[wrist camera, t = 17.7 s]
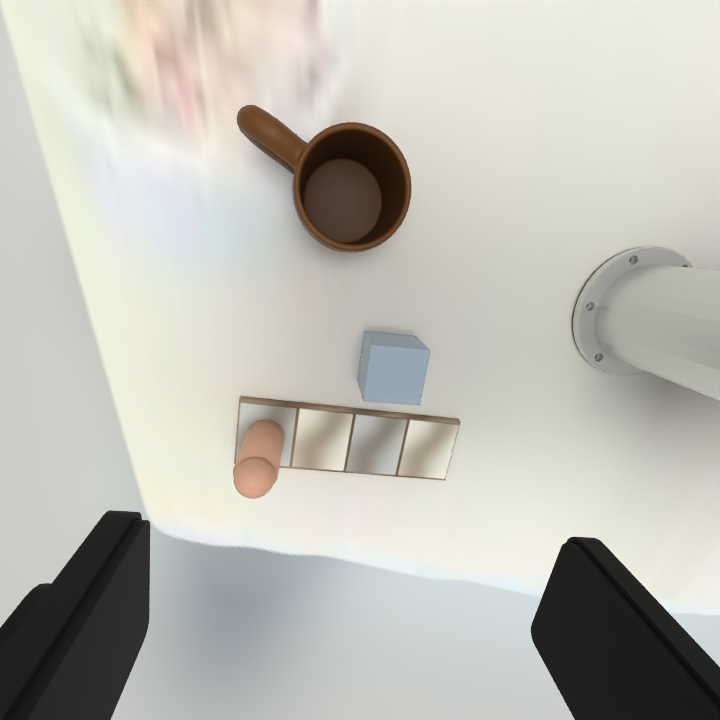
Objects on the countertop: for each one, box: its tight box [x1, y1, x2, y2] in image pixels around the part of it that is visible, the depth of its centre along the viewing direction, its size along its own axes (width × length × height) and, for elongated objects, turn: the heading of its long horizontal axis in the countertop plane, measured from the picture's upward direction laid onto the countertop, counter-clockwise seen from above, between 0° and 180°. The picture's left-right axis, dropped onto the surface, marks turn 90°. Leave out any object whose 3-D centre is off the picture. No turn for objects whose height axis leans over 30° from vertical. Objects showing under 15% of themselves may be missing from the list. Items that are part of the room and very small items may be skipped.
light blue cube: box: [357, 331, 430, 405], centre depth 35 cm, size 5×5×5 cm
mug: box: [237, 105, 411, 252], centre depth 28 cm, size 12×8×9 cm, turn 57°
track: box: [234, 396, 460, 480], centre depth 39 cm, size 22×7×1 cm, turn 81°
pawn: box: [233, 420, 284, 498], centre depth 33 cm, size 4×4×8 cm
